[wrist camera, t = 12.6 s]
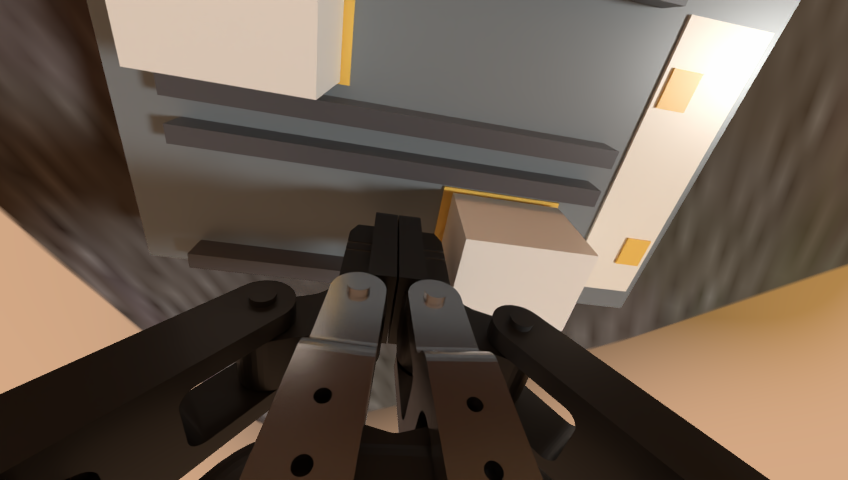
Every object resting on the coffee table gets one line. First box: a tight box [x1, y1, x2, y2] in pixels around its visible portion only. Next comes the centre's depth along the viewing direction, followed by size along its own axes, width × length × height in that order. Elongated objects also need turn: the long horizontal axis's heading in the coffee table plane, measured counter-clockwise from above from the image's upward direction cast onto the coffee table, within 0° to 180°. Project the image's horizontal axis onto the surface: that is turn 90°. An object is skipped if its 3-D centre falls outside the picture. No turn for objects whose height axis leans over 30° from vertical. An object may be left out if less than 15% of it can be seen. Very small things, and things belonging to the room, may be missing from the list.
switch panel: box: [86, 0, 801, 308], centre depth 13 cm, size 20×12×4 cm, turn 80°
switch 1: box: [105, 0, 344, 100], centre depth 8 cm, size 4×3×3 cm
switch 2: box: [442, 193, 599, 331], centre depth 12 cm, size 4×3×3 cm
